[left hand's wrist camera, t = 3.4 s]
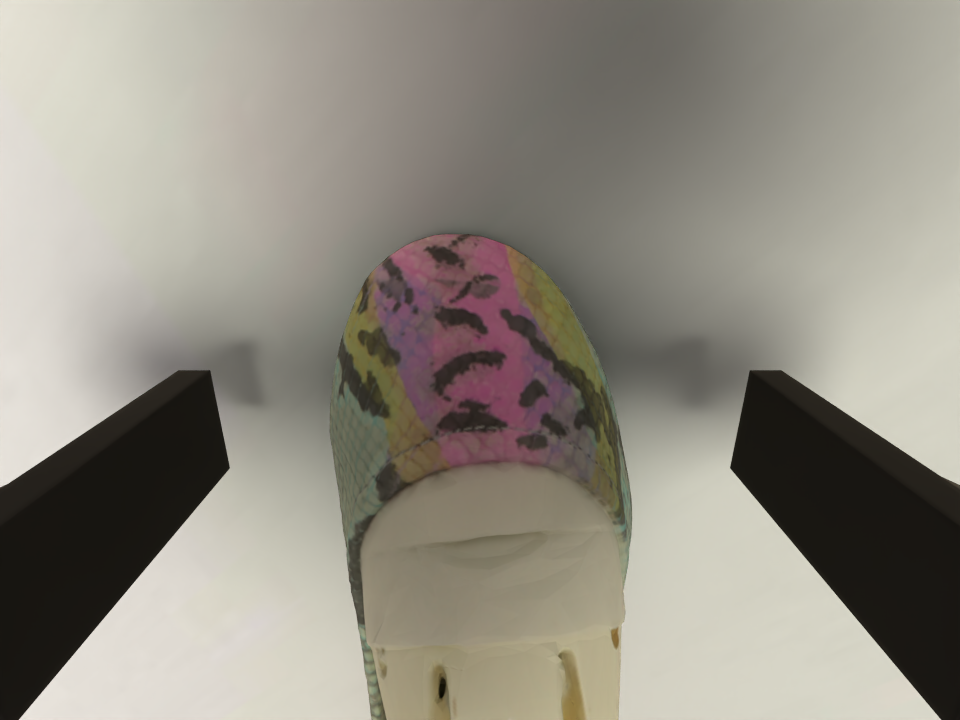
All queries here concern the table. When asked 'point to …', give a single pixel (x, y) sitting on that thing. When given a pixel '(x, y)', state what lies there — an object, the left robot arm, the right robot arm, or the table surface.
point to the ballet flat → (479, 490)
